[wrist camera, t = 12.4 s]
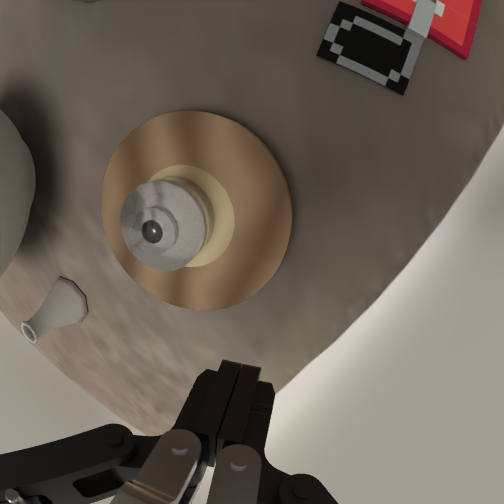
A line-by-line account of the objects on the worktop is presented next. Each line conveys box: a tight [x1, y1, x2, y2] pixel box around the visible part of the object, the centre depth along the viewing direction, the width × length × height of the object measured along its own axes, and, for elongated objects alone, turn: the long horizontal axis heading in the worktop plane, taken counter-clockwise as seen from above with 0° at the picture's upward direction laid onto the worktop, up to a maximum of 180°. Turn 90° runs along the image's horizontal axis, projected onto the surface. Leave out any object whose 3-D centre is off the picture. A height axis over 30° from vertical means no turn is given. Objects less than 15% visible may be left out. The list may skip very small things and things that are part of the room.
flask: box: [21, 277, 88, 344], centre depth 35 cm, size 7×7×10 cm
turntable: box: [101, 111, 293, 310], centre depth 30 cm, size 20×20×3 cm
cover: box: [120, 176, 215, 271], centre depth 26 cm, size 8×8×5 cm
